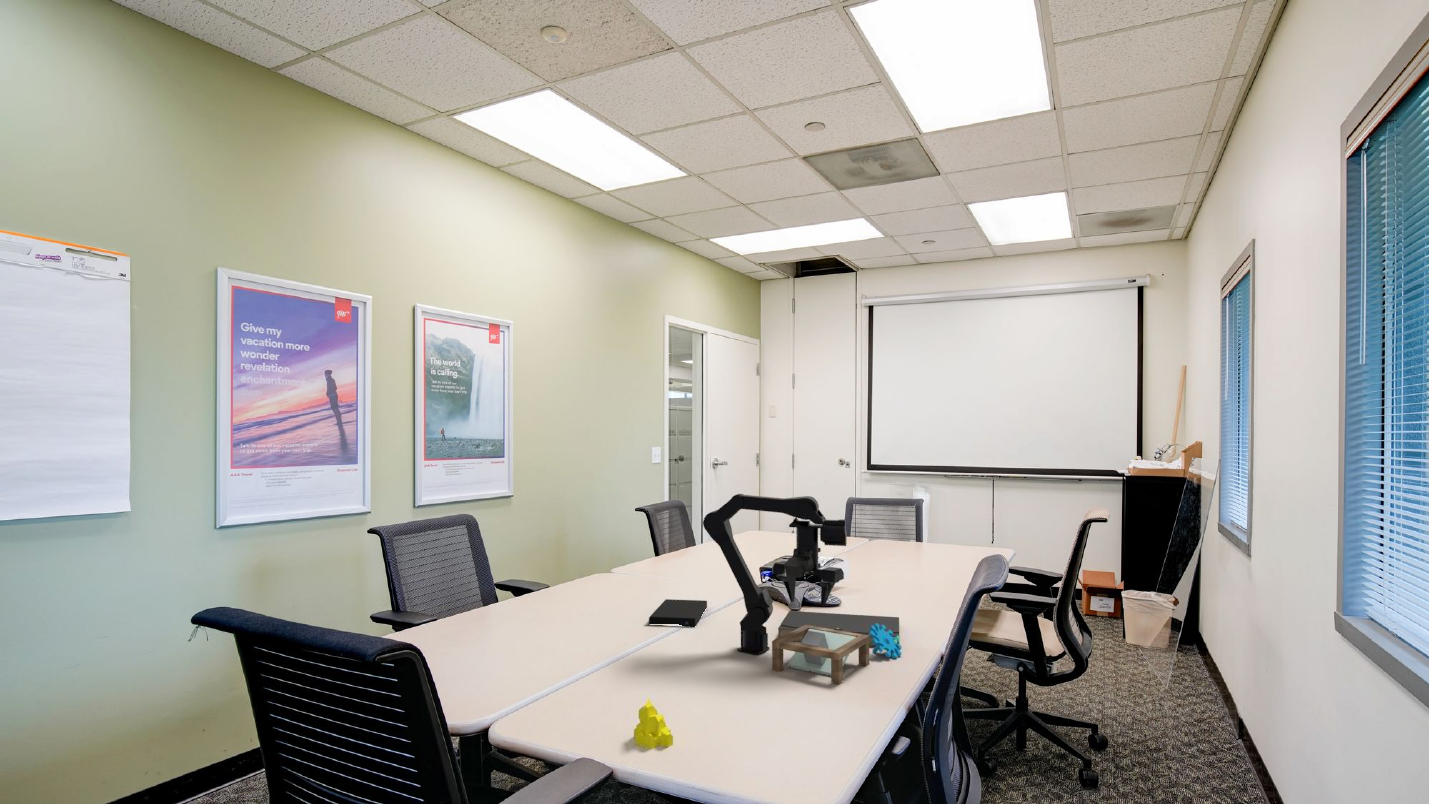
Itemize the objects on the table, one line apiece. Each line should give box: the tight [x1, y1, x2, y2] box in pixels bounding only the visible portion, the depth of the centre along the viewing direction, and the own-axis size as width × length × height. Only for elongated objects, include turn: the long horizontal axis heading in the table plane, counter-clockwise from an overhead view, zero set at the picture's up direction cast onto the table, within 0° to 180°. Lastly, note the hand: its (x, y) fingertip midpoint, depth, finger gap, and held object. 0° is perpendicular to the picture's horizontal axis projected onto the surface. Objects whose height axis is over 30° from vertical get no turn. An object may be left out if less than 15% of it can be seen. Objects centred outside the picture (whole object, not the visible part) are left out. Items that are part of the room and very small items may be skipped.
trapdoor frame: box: [771, 625, 870, 685], centre depth 174 cm, size 18×18×7 cm
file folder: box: [777, 610, 900, 647], centre depth 204 cm, size 33×4×24 cm
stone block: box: [800, 631, 829, 666], centre depth 172 cm, size 4×4×6 cm
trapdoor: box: [787, 629, 856, 677], centre depth 175 cm, size 13×13×1 cm
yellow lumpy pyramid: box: [633, 698, 674, 750], centre depth 132 cm, size 6×8×8 cm
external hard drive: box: [648, 598, 708, 628], centre depth 223 cm, size 14×23×3 cm, turn 172°
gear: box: [869, 623, 903, 659], centre depth 184 cm, size 11×6×10 cm
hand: (807, 604), depth 185 cm, fingers open, 9 cm apart
